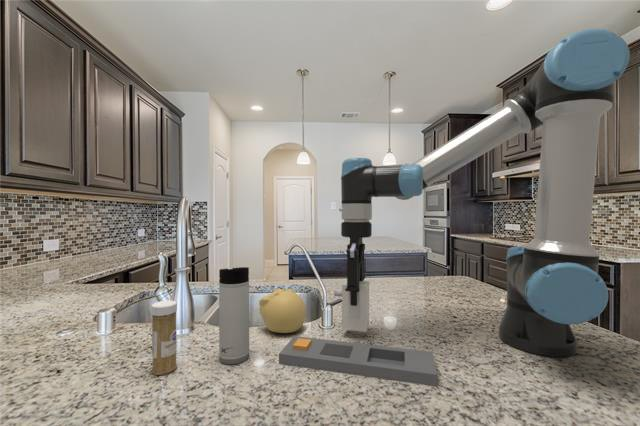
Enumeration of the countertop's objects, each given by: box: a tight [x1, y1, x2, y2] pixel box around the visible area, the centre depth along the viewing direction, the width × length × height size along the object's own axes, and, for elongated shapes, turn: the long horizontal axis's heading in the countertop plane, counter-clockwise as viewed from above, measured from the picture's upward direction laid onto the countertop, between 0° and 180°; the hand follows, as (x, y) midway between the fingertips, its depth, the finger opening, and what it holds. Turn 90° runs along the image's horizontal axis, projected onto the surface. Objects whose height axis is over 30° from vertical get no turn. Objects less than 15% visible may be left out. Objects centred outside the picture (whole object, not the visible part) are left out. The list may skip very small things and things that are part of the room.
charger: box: [333, 279, 370, 333], centre depth 75 cm, size 8×5×11 cm, turn 74°
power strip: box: [278, 335, 438, 387], centre depth 61 cm, size 30×9×4 cm, turn 74°
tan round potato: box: [258, 288, 307, 334], centre depth 81 cm, size 12×12×11 cm
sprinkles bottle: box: [150, 300, 178, 376], centre depth 60 cm, size 5×5×14 cm
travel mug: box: [218, 266, 250, 365], centre depth 65 cm, size 6×7×20 cm
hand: (356, 313), depth 75 cm, fingers closed on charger, 5 cm apart
